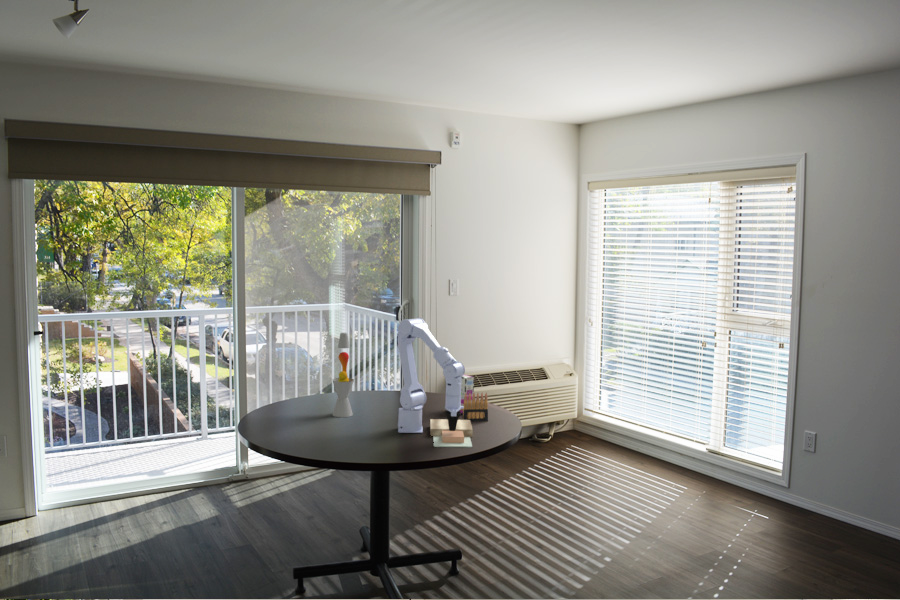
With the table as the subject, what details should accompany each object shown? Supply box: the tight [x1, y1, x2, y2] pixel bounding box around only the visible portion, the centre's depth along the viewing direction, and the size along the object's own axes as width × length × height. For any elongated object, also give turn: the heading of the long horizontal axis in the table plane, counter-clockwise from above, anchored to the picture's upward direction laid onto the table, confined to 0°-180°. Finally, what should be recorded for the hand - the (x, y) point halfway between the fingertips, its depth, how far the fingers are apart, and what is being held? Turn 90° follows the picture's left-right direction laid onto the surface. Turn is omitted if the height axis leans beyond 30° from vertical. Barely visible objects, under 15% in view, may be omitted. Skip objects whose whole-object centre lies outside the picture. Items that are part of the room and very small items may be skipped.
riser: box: [429, 418, 474, 438], centre depth 251 cm, size 16×14×3 cm
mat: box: [432, 436, 473, 448], centre depth 238 cm, size 14×12×1 cm
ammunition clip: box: [461, 392, 489, 422], centre depth 268 cm, size 11×2×12 cm, turn 101°
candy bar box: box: [460, 374, 475, 415], centre depth 282 cm, size 11×5×16 cm, turn 37°
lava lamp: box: [332, 332, 355, 418], centre depth 271 cm, size 9×9×35 cm
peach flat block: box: [442, 431, 464, 443], centre depth 240 cm, size 8×8×2 cm
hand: (452, 430), depth 240 cm, fingers closed
